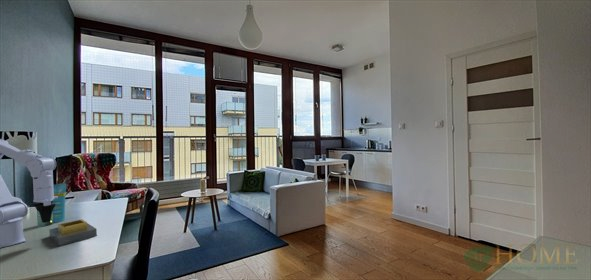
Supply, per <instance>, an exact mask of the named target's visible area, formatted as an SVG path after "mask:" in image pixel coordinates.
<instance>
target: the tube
mask: <svg viewBox="0 0 591 280" xmlns="http://www.w3.org/2000/svg"><path fill="white" fill-rule="evenodd" d="M53 189H54V196H58V198H56V199H54V200H52V201H53V203H52V204H54V203H55V204H56V205H55V207H54V209H53V211H52V214H53V223H60V222H64V221H65V220H66V217H65V216H66V190H67V183H57V184H53Z"/></svg>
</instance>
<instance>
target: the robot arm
mask: <svg viewBox="0 0 591 280" xmlns="http://www.w3.org/2000/svg"><path fill="white" fill-rule="evenodd" d="M3 156H7V157H10V158H13V161H14V162H15V163H16V164H20V165H22V166H23V167H26V168H27V171H28V172H30V176H31V178H32V184H33V185H32V186H33V187H32V188H33V189H32V190H33V201H32V202H33V204H32V205H33V206H34V208H35V209H36V211H39V213H40V216H41V220H42V222H43V223H45V222H50V220H51V215H52V211H53V209H54V207H55V205H56V204H55V203H54V204H52V203H53V201H52V200H54V199H56V198H58V196H54V189H53V185H54V172H53V171H54V170H55V169H56V167H57V161H56V159H55V158H53V157H52V156H46V157H45V156H43V155H41V154H38V153H35V152H33V150H32V149H22V150H21V149H19V148H17V147H15V146H13V145H11V144H10V143H9V141H7V140H5V139H3V138H0V159H1V158H2V157H3ZM28 213H29V208H28V205H27V204H26V203H25V202H24V201H23V200H22V198H20V197H16V196H13V195H12V193H11V192H10V190H9V188H8V186H7V184H6V182H5V180H4V178H3V177H2V175H1V174H0V248H5V247H10V246H13V245H17V244H22V243H25V242H27V240H26V238H25V236H24V228H23V227H24V225H23V221H24V219H25V217H26V216H27V215H28Z"/></svg>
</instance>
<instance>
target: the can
mask: <svg viewBox="0 0 591 280" xmlns="http://www.w3.org/2000/svg"><path fill="white" fill-rule="evenodd" d="M36 211H37V210H36ZM36 218H37V219H36V220H37V221H36V223H37V228H43V227H44V228H45V227H50V226H51V225H54V222H53V214H52V215H51V220H50V222H45V223H43V222H42V220H41V216H40V213H39V211H37V212H36Z"/></svg>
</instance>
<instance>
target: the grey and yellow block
mask: <svg viewBox="0 0 591 280" xmlns="http://www.w3.org/2000/svg"><path fill="white" fill-rule="evenodd" d="M48 233H49V237H50V239H52V241H54V243H55V244H56V245H57V246H58V247H60V246H64V245H68V244H73V243H75V242H79V241H83V240H86V239H91V238H94V237H97V235H98V233H97V228H96V227H95V226H93V225H91V224H90V223H88V221H85V220H84V219H82V218H81V219H77V220H73V221H68V222H63V223H57V227H54V228H49V231H48Z"/></svg>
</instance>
